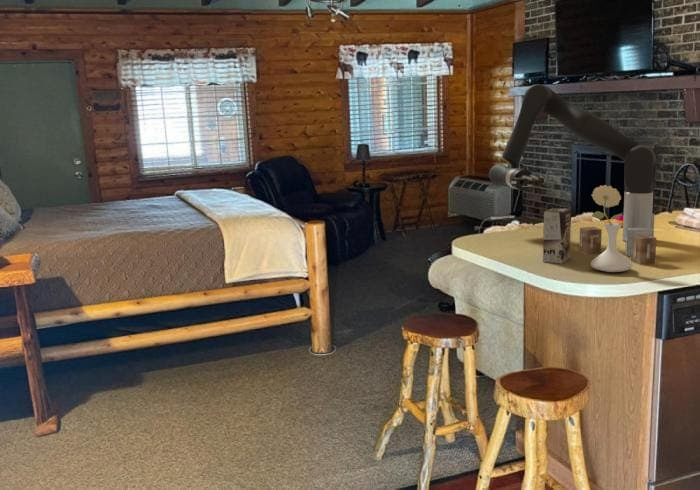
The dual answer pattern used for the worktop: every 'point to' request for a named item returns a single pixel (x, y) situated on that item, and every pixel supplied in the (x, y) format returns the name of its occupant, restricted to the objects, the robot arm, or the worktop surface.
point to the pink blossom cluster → (616, 220)
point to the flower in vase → (609, 233)
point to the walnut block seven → (590, 240)
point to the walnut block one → (643, 249)
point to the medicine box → (635, 232)
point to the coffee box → (556, 235)
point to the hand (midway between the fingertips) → (539, 183)
